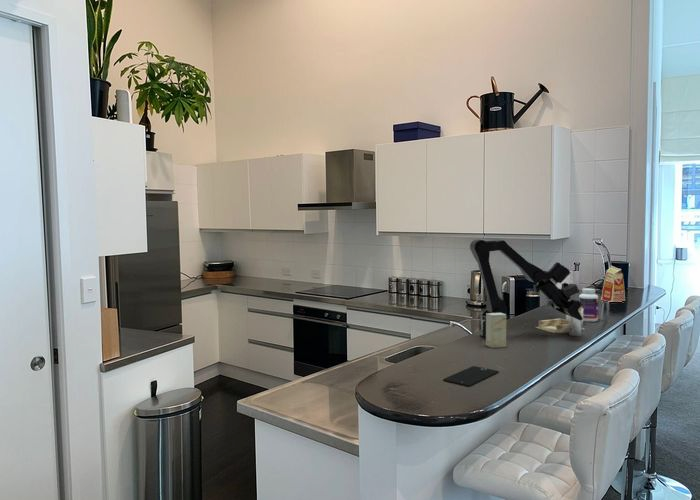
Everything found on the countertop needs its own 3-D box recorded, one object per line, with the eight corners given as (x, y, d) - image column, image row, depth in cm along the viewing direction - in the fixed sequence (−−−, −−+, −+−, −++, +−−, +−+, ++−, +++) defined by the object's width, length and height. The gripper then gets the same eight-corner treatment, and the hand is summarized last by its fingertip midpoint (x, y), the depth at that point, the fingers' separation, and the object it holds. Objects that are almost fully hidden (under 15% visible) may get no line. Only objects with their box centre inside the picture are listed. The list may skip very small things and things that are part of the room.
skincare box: (491, 348, 188) (491, 315, 188) (485, 345, 193) (485, 313, 192) (506, 346, 190) (507, 314, 189) (500, 344, 194) (500, 312, 194)
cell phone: (499, 373, 159) (499, 370, 159) (469, 388, 146) (469, 385, 146) (473, 368, 165) (473, 365, 165) (442, 382, 152) (442, 379, 152)
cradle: (555, 333, 210) (555, 326, 210) (535, 328, 221) (535, 321, 221) (584, 329, 216) (584, 322, 216) (564, 324, 227) (564, 318, 227)
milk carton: (600, 301, 289) (601, 265, 287) (614, 300, 291) (614, 264, 290) (613, 303, 280) (614, 266, 279) (627, 302, 283) (627, 265, 282)
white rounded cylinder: (575, 325, 224) (575, 309, 224) (562, 323, 231) (562, 307, 230) (586, 324, 227) (587, 308, 227) (573, 321, 234) (573, 305, 233)
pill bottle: (600, 322, 231) (600, 290, 230) (581, 322, 232) (581, 290, 231) (595, 319, 239) (595, 288, 238) (577, 318, 240) (577, 287, 239)
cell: (575, 336, 204) (575, 302, 203) (566, 334, 208) (566, 300, 208) (584, 335, 206) (584, 301, 205) (574, 333, 210) (574, 300, 210)
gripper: (577, 279, 196) (605, 308, 198) (555, 274, 215) (581, 300, 216) (556, 301, 197) (585, 329, 198) (536, 294, 215) (562, 319, 216)
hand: (578, 318), depth 207 cm, fingers closed on cell, 5 cm apart
